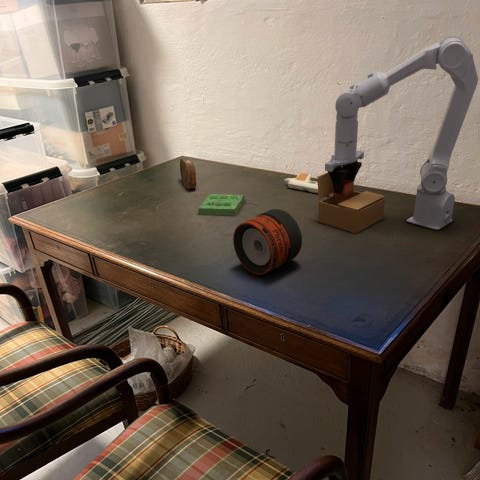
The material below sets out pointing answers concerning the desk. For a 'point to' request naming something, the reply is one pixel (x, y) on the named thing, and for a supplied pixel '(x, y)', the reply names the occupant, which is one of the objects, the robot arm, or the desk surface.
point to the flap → (324, 185)
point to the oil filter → (267, 241)
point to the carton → (352, 211)
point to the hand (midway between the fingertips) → (343, 190)
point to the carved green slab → (221, 204)
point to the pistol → (303, 183)
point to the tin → (188, 173)
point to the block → (345, 190)
